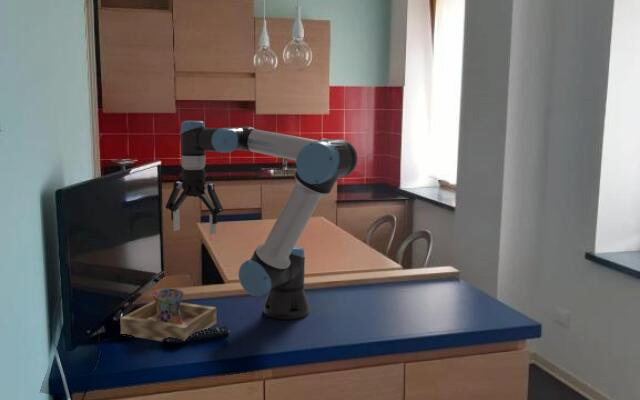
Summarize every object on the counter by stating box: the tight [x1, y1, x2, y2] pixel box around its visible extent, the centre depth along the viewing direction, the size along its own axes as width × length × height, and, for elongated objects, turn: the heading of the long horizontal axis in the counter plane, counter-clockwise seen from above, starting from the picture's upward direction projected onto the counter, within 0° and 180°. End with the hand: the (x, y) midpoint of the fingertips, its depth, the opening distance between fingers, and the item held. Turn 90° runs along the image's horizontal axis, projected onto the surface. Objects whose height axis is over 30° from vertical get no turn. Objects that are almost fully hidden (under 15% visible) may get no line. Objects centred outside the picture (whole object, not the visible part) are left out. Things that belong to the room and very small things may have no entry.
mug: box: [151, 288, 185, 325], centre depth 186 cm, size 12×9×11 cm
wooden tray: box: [119, 299, 218, 342], centre depth 187 cm, size 22×19×5 cm
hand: (194, 231), depth 201 cm, fingers open, 13 cm apart
